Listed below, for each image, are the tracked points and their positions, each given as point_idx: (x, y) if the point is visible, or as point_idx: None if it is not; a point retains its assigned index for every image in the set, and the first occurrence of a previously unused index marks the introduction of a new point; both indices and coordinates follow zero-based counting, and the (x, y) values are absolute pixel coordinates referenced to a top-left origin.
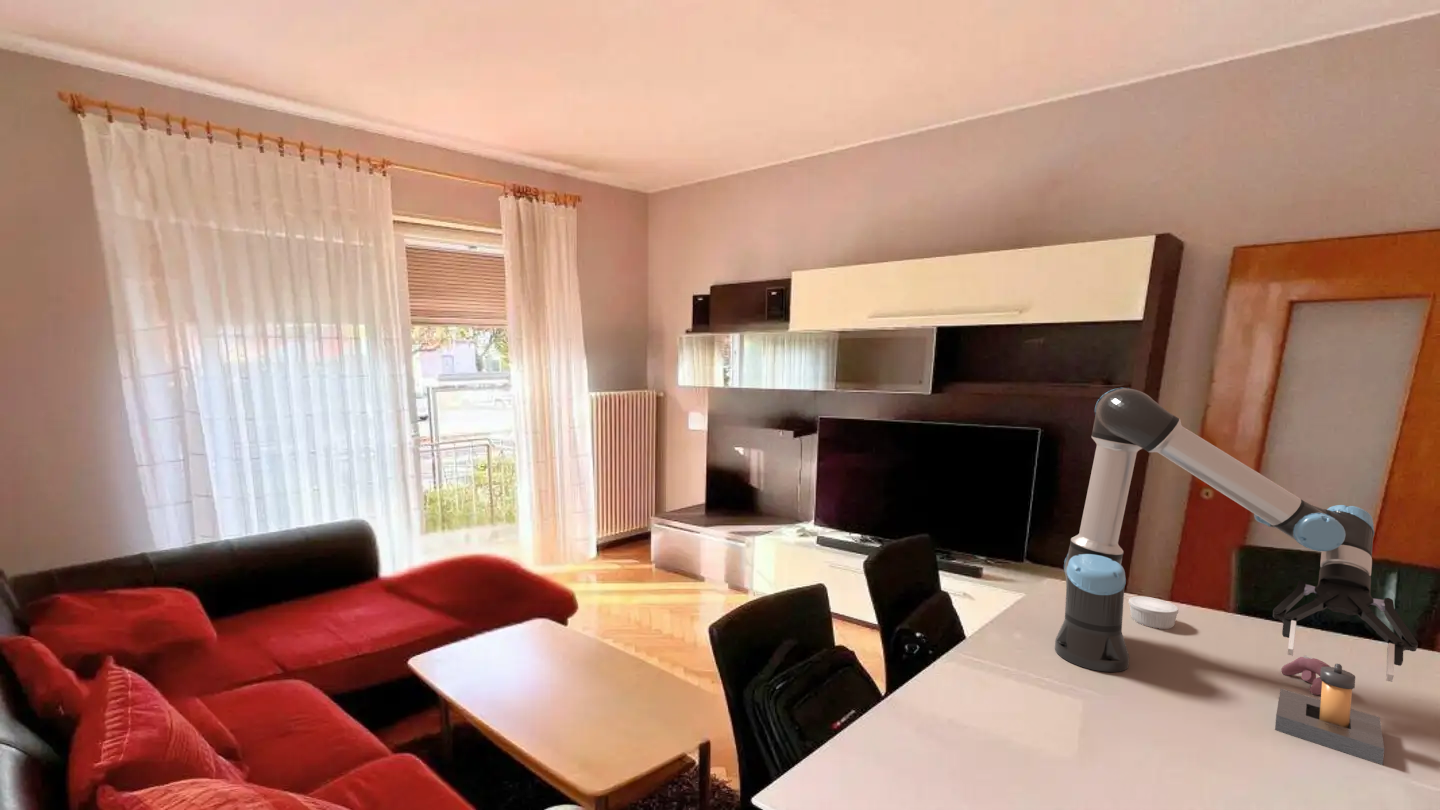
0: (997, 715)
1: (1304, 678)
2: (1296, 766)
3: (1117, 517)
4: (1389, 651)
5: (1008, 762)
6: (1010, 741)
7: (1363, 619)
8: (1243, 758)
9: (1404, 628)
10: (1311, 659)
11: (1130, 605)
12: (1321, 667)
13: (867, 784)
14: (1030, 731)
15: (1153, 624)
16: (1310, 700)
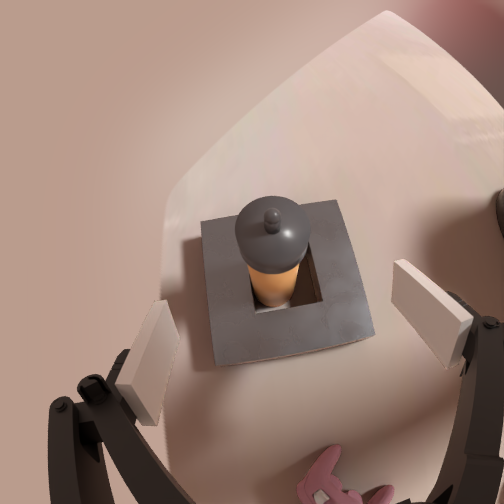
0: (433, 69)
1: (355, 493)
2: (281, 143)
3: None
4: (140, 356)
5: (384, 41)
6: (403, 53)
7: None
8: (320, 120)
9: (57, 460)
10: None
11: None
12: (309, 227)
13: (386, 18)
14: (411, 64)
15: None
16: (322, 327)
